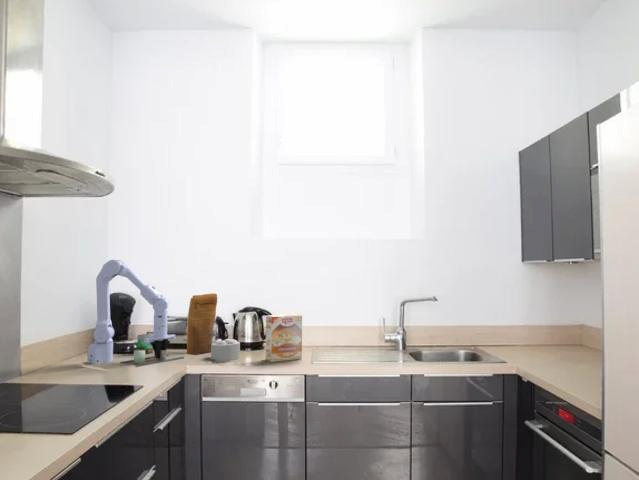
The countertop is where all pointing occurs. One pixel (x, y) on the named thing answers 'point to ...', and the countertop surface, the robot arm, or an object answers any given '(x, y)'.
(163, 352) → the brown piece
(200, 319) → the pancake mix bag
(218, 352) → the lumpy-topped squat cylinder
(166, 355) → the track
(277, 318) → the coffeecake box
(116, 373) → the countertop surface
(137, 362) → the tapered cylinder
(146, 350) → the food container
